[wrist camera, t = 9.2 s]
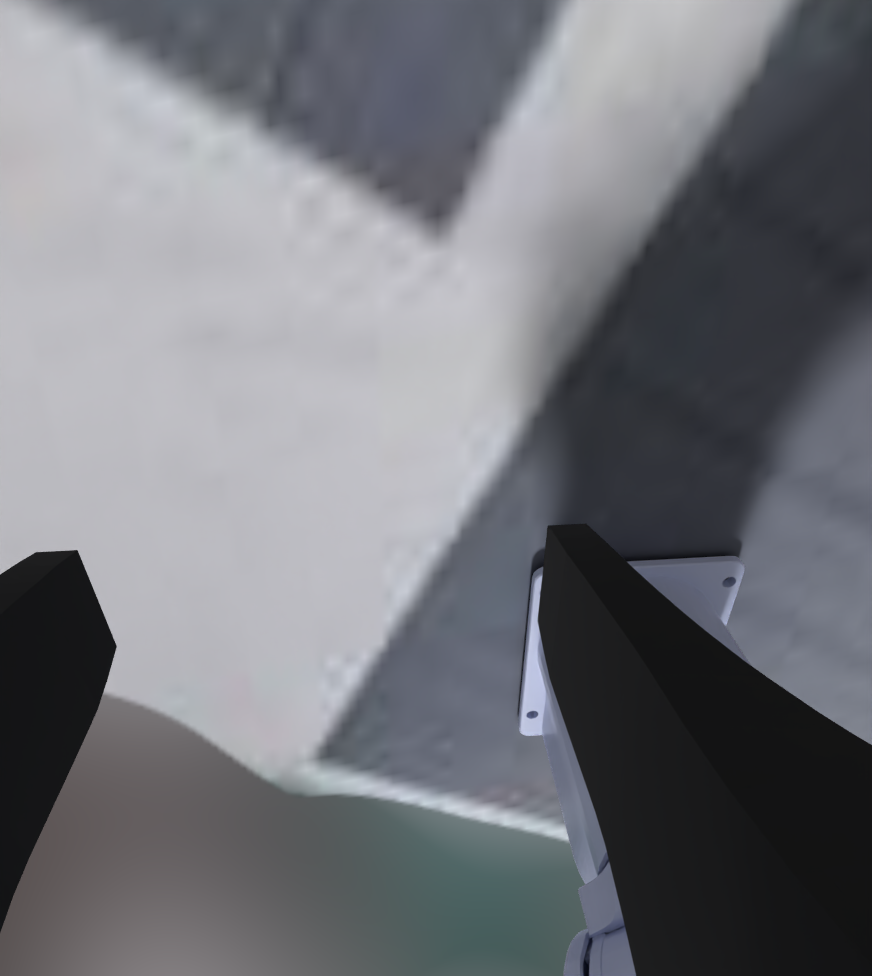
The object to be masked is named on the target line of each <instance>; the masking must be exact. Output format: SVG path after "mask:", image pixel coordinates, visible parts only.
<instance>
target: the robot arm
mask: <svg viewBox="0 0 872 976" xmlns="http://www.w3.org/2000/svg"><path fill="white" fill-rule="evenodd" d="M744 571H745V565H744V563H743V562H742V561H741V560H740V558H738V557H736V556H717V557H699V558H681V559H663V560H646V561H628V562H626V561H625V560H624V559H623V558H622V557H621V556H620V555H619V554H618V553H617V552H616V551H615V550H614V549H613V548H611V547H610V546H609V545H608V544H607V543H606V542H605V541H604V540H603V539H602V538H601V537H600V536H599V535H598V534H597V533H596V532H594V531H593V530H592V529H591V528H590V527H589V526H588V525H587V524H572V525H552V526H548V528H547V538H546V547H545V556H544V565H543V567H541V568H539V569H537V570H536V571H535V572H534V573H533V576H532V584H531V595H530V605H529V615H528V625H527V636H526V646H525V656H524V666H523V677H522V687H521V697H520V707H519V718H518V726H519V731H520V733H521V734H523V735H526V736H534V735H543V738H544V742H545V746H546V750H547V754H548V758H549V762H550V766H551V770H552V774H553V778H554V782H555V786H556V790H557V794H558V798H559V802H560V806H561V810H562V813H563V817H564V821H565V825H566V829H567V833H568V837H569V841H570V844H571V849H572V853H573V857H574V860H575V862H576V865H577V868H578V870H579V873H580V875H581V877H582V879H583V881H584V883H585V885H583V886H581V887H580V888H579V890H578V892H579V896H580V899H581V904H582V908H583V912H584V916H585V920H586V924H587V929H585V930H582V931H580V932H579V933H578V934H577V935H576V936H575V937H574V939H573V940H572V941H571V944H570V946H569V949H568V951H567V956H566V961H565V967H564V976H872V745H871V744H869V743H867V742H866V741H864V740H862V739H861V738H859V737H857V736H855V735H854V734H852V733H850V732H849V731H847V730H846V729H844V728H843V727H841V726H839V725H838V724H836V723H835V722H833V721H831V720H830V719H828V718H827V717H825V716H824V715H822V714H820V713H819V712H817V711H816V710H814V709H813V708H811V707H810V706H808V705H807V704H806V703H804V702H803V701H801V700H800V699H798V698H797V697H795V696H794V695H792V694H791V693H789V692H788V691H786V690H785V689H784V688H782V687H781V686H779V685H778V684H776V683H775V682H773V681H772V680H770V679H769V678H767V677H766V676H765V675H763V674H762V673H760V672H759V671H758V670H756V669H755V668H754V667H752V666H751V665H750V663H749V662H748V660H747V659H746V657H745V656H744V654H743V652H742V651H741V649H740V648H739V646H738V645H737V643H736V642H735V640H734V639H733V637H732V636H731V634H730V633H729V631H728V629H727V628H726V625H727V622H728V619H729V616H730V613H731V610H732V607H733V604H734V601H735V598H736V595H737V592H738V589H739V586H740V583H741V580H742V577H743V574H744ZM728 577H729V578H728ZM726 578H728V579H727V580H725V579H726ZM116 647H117V646H116V643H115V641H114V639H113V636H112V634H111V631H110V629H109V626H108V624H107V621H106V619H105V617H104V614H103V612H102V609H101V607H100V604H99V602H98V599H97V597H96V594H95V592H94V590H93V587H92V585H91V582H90V580H89V577H88V575H87V572H86V570H85V568H84V565H83V563H82V560H81V558H80V555H79V553H78V550H73V551H54V552H36V553H34V554H32V555H31V556H29V557H27V558H26V559H24V560H22V561H21V562H19V563H17V564H16V565H14V566H13V567H11V568H10V569H8V570H7V571H5V572H3V573H2V574H0V931H1V929H2V926H3V923H4V920H5V918H6V915H7V912H8V909H9V906H10V903H11V901H12V898H13V895H14V893H15V890H16V888H17V885H18V883H19V881H20V878H21V876H22V874H23V871H24V869H25V866H26V864H27V862H28V859H29V857H30V855H31V853H32V851H33V848H34V846H35V844H36V842H37V840H38V838H39V836H40V833H41V831H42V829H43V827H44V824H45V823H46V821H47V818H48V816H49V814H50V812H51V810H52V808H53V805H54V803H55V801H56V799H57V797H58V795H59V793H60V790H61V788H62V786H63V784H64V782H65V780H66V777H67V775H68V773H69V771H70V769H71V767H72V765H73V762H74V760H75V758H76V756H77V754H78V752H79V749H80V747H81V745H82V743H83V741H84V738H85V736H86V734H87V732H88V730H89V727H90V725H91V723H92V720H93V718H94V716H95V714H96V712H97V709H98V706H99V704H100V700H101V697H102V694H103V691H104V688H105V685H106V682H107V679H108V675H109V672H110V668H111V665H112V661H113V658H114V654H115V651H116Z"/></svg>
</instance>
